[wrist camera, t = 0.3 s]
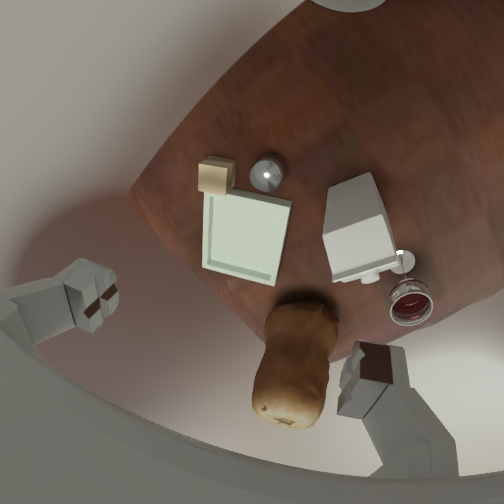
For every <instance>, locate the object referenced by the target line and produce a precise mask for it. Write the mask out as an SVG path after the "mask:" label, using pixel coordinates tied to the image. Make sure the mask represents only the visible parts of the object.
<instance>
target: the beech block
mask: <svg viewBox="0 0 504 504" xmlns="http://www.w3.org/2000/svg"><path fill="white" fill-rule="evenodd" d="M236 162H237V160H233V159H227V158H221V157H215V156H209V157H208V158H207V159H205V160H204V161H202V162H201V163H199V180H198V191H202V192H207V193H212V194H217V195H222V196H226V195H227V194H228V192H229V191H230V190H231V189H232V188H233V187H234V186H235V174H236Z"/></svg>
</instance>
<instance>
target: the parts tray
mask: <svg viewBox="0 0 504 504" xmlns="http://www.w3.org/2000/svg"><path fill="white" fill-rule="evenodd" d="M291 206H292V201H289V200H285V199H280V198H276V197H271V196H267V195H262V194H258V193H253V192H248V191H243V190H238V189H233V188H232V189H231V190H230V191H229V192H228V194H227V195H226V196H222V195H217V194H212V193H207V192H204V214H203V259H202V267H203V268H207V269H210V270H214V271H218V272H221V273H225V274H229V275H232V276H236V277H240V278H244V279H248V280H251V281H255V282H259V283H263V284H267V285H271V286H275V283H276V280H277V276H278V272H279V267H280V262H281V257H282V252H283V247H284V242H285V237H286V232H287V227H288V222H289V217H290V211H291Z"/></svg>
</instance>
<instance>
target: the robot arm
mask: <svg viewBox="0 0 504 504" xmlns="http://www.w3.org/2000/svg"><path fill="white" fill-rule="evenodd" d="M312 1H314V2H315V3H317V4H319V5H321V6H323V7H326V8H329V9H332V10H336V11H341V12H362V11H367V10H370V9H373V8H375V7H377V6H379V5H381V4H382V3H383V2H384V1H386V0H312ZM116 281H117V279H116V274H115V272H114V271H113V270H112V269H109V268H107V267H104V266H102V265H99V264H97V263H94V262H91V261H88V260H86V259H83V258H81V259H78V260H76V261H75V262H74V263H72V264H71V265H70V266H68V267H67V268H65V269H64V270H62V271H61V272H60V273H58V274H57V275H56V276H54V277H53V278H52V279H51V278H46V279H41V280H37V281H33V282H30V283H26V284H22V285H18V286H14V287H10V288H7V289H3V290H0V504H504V470H503V471H498V472H492V473H485V474H478V475H469V476H459V473H458V461H457V452H456V444H455V440H454V439H453V437H452V436H451V435H450V433H449V432H448V431H447V429H446V428H445V427H444V426H443V424H442V423H441V422H440V420H439V419H438V418H437V416H436V415H435V414H434V413H433V411H432V410H431V409H430V407H429V406H428V405H427V404H426V402H425V401H424V400H423V399H422V397H421V396H420V395H419V394H418V392H417V391H416V390H415V389H414V388H410V383H409V376H408V369H407V363H406V357H405V351H404V349H403V347H398V346H392V345H385V344H380V343H375V342H370V341H365V340H360V339H357V340H356V342H355V343H354V345H353V347H352V356H350V357H348V358H347V360H346V362H345V364H344V366H343V369H342V372H341V377H340V385H339V386H340V388H341V389H342V392H341V394H340V396H339V397H338V407H337V415H342V416H346V417H351V418H357V419H362V422H363V423H364V426H365V428H366V430H367V432H368V434H369V436H370V438H371V440H372V442H373V444H374V446H375V448H376V450H377V452H378V454H379V456H380V458H381V461H382V463H383V466H381V467H380V468H379V469H378V470H376V471H375V472H374V473H373V474H371V475H370V476H369V477H361V476H351V475H341V474H333V473H327V472H320V471H314V470H308V469H303V468H297V467H292V466H287V465H282V464H278V463H274V462H269V461H265V460H261V459H257V458H253V457H250V456H246V455H243V454H239V453H236V452H233V451H229V450H226V449H222V448H220V447H217V446H213V445H211V444H208V443H205V442H202V441H199V440H196V439H193V438H191V437H188V436H186V435H183V434H180V433H178V432H175V431H173V430H170V429H168V428H166V427H163V426H161V425H159V424H156V423H154V422H152V421H149V420H147V419H145V418H143V417H141V416H139V415H136V414H134V413H132V412H130V411H128V410H126V409H124V408H122V407H120V406H118V405H116V404H114V403H112V402H110V401H109V400H107V399H105V398H103V397H101V396H99V395H97V394H96V393H94V392H92V391H90V390H89V389H87V388H85V387H83V386H82V385H80V384H79V383H77V382H75V381H74V380H72V379H70V378H69V377H67V376H66V375H64V374H62V373H61V372H59V371H58V370H56V369H55V368H53V367H52V366H50V365H49V364H47V363H46V362H44V361H43V360H42V359H40V358H39V357H38V352H37V350H36V348H35V346H34V345H36V344H38V343H40V342H42V341H45V340H47V339H49V338H51V337H54V336H56V335H58V334H60V333H62V332H65V331H67V330H69V329H71V328H74V327H75V326H78V327H80V328H81V329H84V330H86V331H88V332H90V333H92V334H93V333H94V332H95V331H96V330H97V329H98V328H99V326H100V325H101V324H102V323H103V320H104V317H106V316H109V315H111V314H112V313H113V312H114V311H115V309H116V307H117V304H118V301H119V293H118V290H117V288H116V287H115V285H114V284H115V282H116Z"/></svg>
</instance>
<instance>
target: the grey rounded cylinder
mask: <svg viewBox="0 0 504 504" xmlns="http://www.w3.org/2000/svg"><path fill="white" fill-rule="evenodd" d="M286 168H287V167H286V162H285V161H284V159H283V158H282V157H281V156H280V155H278V154H274V153H269V154H266V155H264V156H263V157H262V158H261V159H260V160H259V161H258V162H257V163H256V164H255V165H254V166H253V168H252V169H251V172H250V180H251V182H252V184H253V185H254V186H255V187H256V188H257V189H259V190H261V191H266V192H268V191H272V190H274V189H276V188H277V187H278V185H279V184H280V182H281V180H282V178H283V176H284V175H285V173H286Z"/></svg>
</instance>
